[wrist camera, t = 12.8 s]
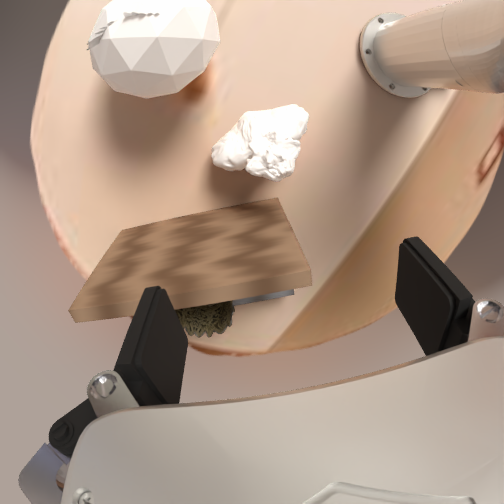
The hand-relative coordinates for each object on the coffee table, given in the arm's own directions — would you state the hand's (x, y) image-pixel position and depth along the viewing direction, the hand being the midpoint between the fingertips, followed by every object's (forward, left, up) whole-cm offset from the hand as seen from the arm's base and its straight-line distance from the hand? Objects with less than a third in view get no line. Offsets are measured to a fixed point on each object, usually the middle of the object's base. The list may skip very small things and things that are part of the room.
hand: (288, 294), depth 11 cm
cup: (+8, +13, -24) cm, 29 cm away
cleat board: (+8, +12, -28) cm, 32 cm away
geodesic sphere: (+7, -16, -29) cm, 34 cm away
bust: (-2, -2, -29) cm, 29 cm away
